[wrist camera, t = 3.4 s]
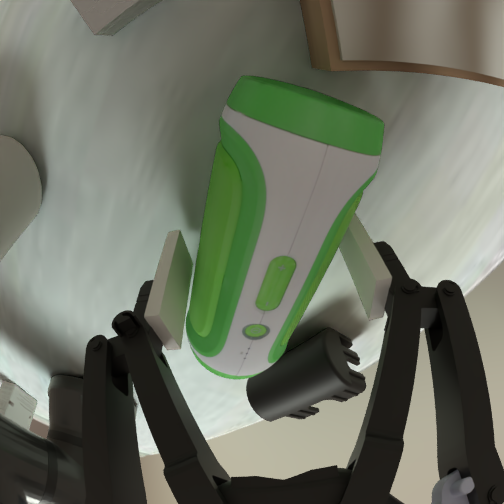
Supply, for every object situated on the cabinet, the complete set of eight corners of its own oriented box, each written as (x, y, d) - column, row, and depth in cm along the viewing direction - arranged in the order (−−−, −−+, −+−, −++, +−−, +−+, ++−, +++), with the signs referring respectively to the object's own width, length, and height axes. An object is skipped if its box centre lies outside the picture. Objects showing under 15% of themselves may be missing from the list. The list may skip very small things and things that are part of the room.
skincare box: (38, 401, 44) (25, 456, 32) (23, 397, 44) (10, 449, 33) (14, 382, 39) (-3, 441, 27) (0, 378, 39) (-16, 434, 28)
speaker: (273, 311, 25) (283, 389, 19) (189, 300, 23) (179, 381, 18) (356, 105, 14) (429, 146, 8) (232, 69, 13) (226, 77, 7)
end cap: (316, 313, 25) (332, 378, 20) (356, 337, 28) (373, 393, 23) (243, 359, 30) (246, 417, 24) (288, 376, 33) (294, 426, 28)
